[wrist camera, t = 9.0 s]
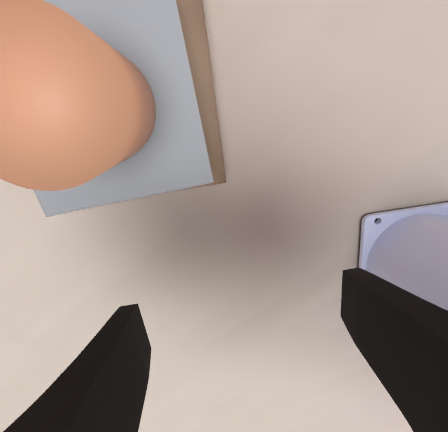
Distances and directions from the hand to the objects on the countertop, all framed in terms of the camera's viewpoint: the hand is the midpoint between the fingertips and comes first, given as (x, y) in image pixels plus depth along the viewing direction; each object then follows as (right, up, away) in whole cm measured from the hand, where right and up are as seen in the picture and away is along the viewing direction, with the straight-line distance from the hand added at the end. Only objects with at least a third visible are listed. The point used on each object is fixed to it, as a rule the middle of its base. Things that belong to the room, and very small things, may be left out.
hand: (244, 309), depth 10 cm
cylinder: (-6, +8, +2) cm, 10 cm away
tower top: (-6, +9, +5) cm, 12 cm away
